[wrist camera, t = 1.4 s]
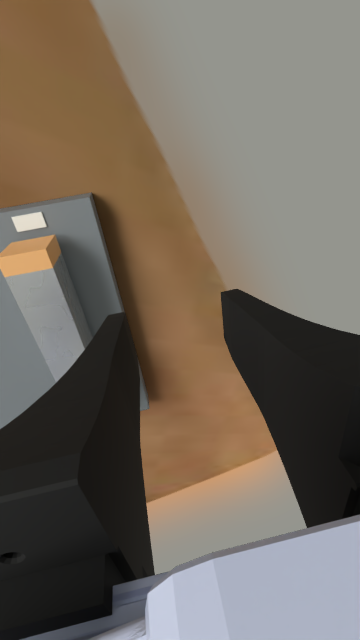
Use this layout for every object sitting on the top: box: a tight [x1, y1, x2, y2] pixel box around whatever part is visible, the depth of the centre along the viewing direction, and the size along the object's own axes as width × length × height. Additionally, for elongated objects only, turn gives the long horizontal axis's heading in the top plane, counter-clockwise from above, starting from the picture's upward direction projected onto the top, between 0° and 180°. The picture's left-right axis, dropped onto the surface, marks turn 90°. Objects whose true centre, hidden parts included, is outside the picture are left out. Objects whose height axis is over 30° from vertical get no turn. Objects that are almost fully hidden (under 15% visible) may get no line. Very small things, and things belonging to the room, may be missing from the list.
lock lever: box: [0, 235, 93, 382], centre depth 19 cm, size 12×4×3 cm, turn 8°
